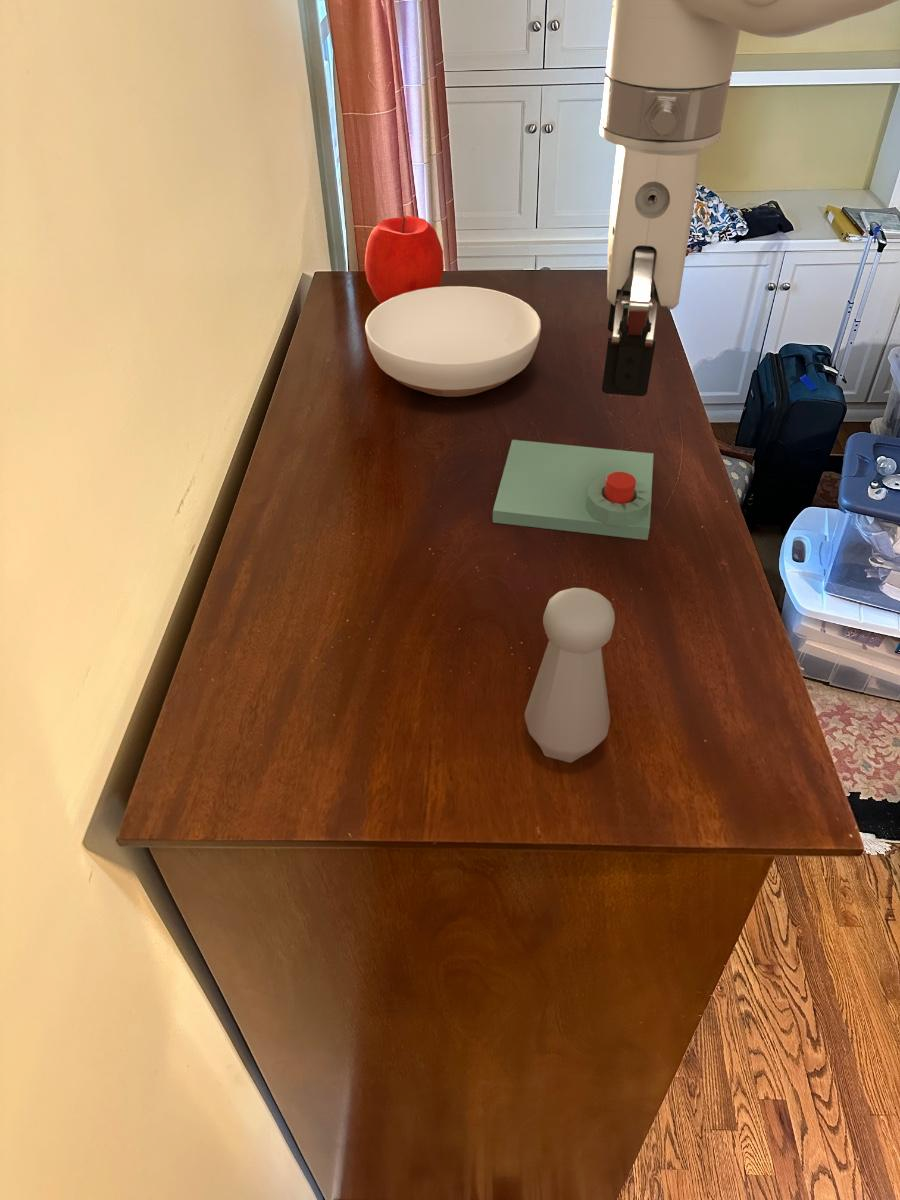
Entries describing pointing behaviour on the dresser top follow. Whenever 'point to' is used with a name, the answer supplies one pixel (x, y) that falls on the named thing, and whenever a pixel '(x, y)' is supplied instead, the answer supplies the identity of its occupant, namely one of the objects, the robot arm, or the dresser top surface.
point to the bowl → (453, 339)
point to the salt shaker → (572, 676)
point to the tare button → (620, 487)
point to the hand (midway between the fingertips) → (625, 360)
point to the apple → (403, 257)
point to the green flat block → (573, 489)
